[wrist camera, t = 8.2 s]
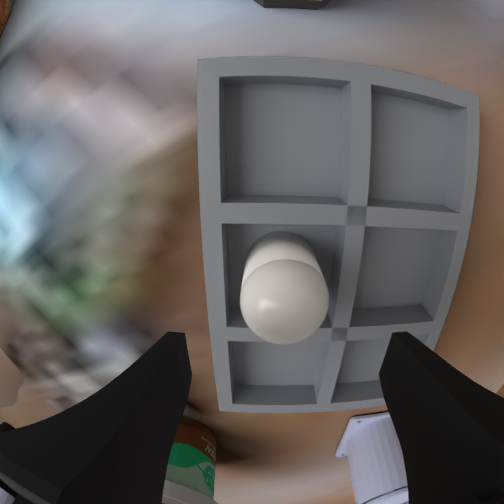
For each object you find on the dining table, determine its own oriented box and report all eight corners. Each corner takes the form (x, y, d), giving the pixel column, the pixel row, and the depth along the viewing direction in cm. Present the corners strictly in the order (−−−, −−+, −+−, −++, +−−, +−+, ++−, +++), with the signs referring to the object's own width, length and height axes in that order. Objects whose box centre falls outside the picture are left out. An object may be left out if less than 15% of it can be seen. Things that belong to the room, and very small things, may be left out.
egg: (317, 231, 16) (343, 280, 10) (312, 294, 17) (329, 361, 12) (245, 230, 16) (234, 279, 10) (246, 294, 18) (237, 361, 12)
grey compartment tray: (451, 98, 13) (478, 95, 10) (399, 376, 21) (410, 400, 18) (209, 72, 14) (197, 59, 11) (224, 383, 22) (219, 410, 19)
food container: (243, 459, 27) (237, 533, 18) (195, 460, 28) (182, 528, 19) (199, 397, 23) (175, 496, 14) (142, 400, 24) (108, 485, 14)
